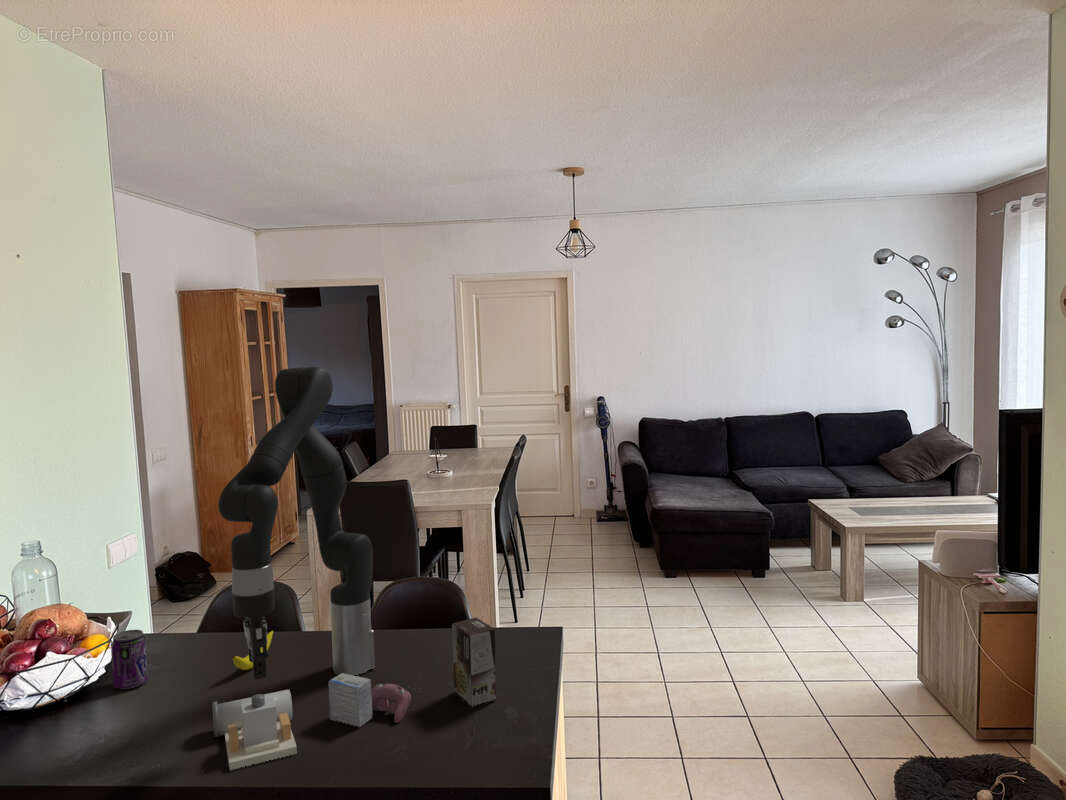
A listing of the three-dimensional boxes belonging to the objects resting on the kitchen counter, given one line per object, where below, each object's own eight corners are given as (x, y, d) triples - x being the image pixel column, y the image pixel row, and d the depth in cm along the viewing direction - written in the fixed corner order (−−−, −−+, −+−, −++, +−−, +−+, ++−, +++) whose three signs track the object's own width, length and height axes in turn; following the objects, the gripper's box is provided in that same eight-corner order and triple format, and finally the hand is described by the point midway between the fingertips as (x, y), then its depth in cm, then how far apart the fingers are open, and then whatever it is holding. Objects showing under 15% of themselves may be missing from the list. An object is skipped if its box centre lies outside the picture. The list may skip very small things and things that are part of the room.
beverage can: (133, 692, 170) (130, 641, 169) (106, 690, 171) (103, 639, 170) (154, 679, 177) (152, 629, 176) (128, 676, 178) (125, 627, 177)
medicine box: (373, 718, 156) (371, 678, 156) (359, 728, 152) (358, 687, 152) (343, 711, 160) (342, 672, 159) (329, 720, 156) (327, 680, 155)
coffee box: (497, 700, 163) (496, 628, 162) (471, 708, 160) (469, 635, 159) (478, 684, 171) (476, 616, 170) (452, 692, 168) (451, 622, 167)
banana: (278, 649, 193) (277, 625, 193) (239, 682, 175) (238, 656, 174) (268, 648, 194) (267, 625, 193) (228, 681, 175) (226, 655, 174)
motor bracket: (288, 711, 160) (287, 681, 160) (302, 752, 144) (301, 719, 143) (213, 727, 154) (212, 696, 153) (219, 773, 137) (217, 738, 137)
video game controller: (408, 724, 157) (416, 689, 159) (396, 723, 153) (405, 687, 156) (371, 714, 161) (379, 680, 164) (358, 713, 158) (367, 679, 160)
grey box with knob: (274, 730, 149) (272, 688, 149) (277, 741, 145) (275, 698, 145) (242, 737, 147) (240, 695, 146) (244, 748, 143) (242, 705, 142)
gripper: (278, 595, 139) (283, 679, 140) (269, 574, 152) (273, 651, 153) (235, 602, 135) (240, 688, 137) (229, 580, 148) (233, 659, 150)
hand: (257, 669), depth 145 cm, fingers open, 8 cm apart
